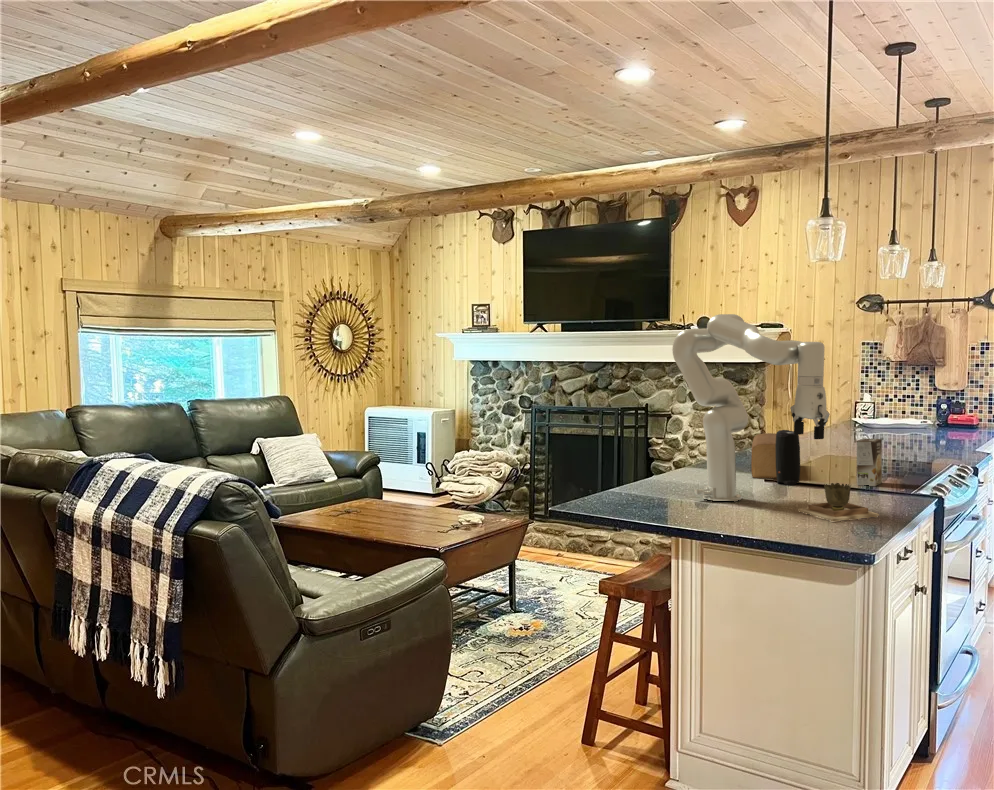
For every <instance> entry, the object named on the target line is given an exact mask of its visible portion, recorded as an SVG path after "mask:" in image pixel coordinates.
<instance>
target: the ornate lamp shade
mask: <svg viewBox="0 0 994 790" xmlns="http://www.w3.org/2000/svg"><path fill="white" fill-rule="evenodd" d="M844 484H845V485H844ZM823 487H824V492H825V493H824V494H825V499H826V503H829V504H830V505H831V506H832V507H831V509H832V510H833V511H840V510H844V506H845V505H847V503H849V501H850V496H851V494H850V493H851V484H847V483H841V484H840V483H839V482H835V483H833V482H831V483H830V485H829V484H828V483H825V484H823Z"/></svg>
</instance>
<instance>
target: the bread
mask: <svg viewBox="0 0 994 790" xmlns="http://www.w3.org/2000/svg"><path fill="white" fill-rule="evenodd" d="M751 443H752V444H751V452H750V453H751V459H750V461H751V462H750V463H751V464H750V465H751V466H750V468H751V471H750V472H751V477H752V478H753V479H777V475H776V451H775V445H776V433H773V432H772V433H769V432H766V433H757V434H756V435H755V436H753V438H752V442H751Z"/></svg>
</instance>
